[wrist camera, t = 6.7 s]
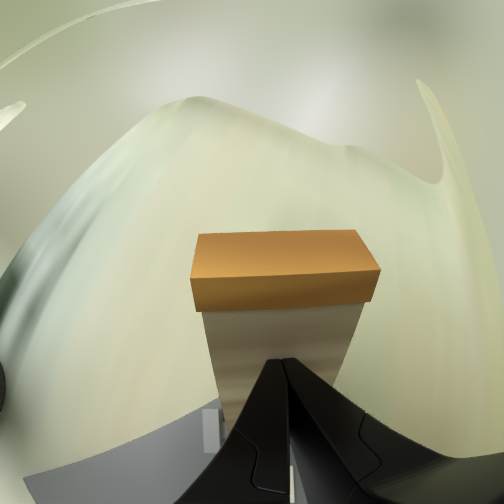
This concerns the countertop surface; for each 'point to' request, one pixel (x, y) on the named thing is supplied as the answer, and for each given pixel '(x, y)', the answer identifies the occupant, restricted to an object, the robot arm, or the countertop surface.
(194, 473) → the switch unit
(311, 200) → the countertop surface
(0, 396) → the coffee cup
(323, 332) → the lever
